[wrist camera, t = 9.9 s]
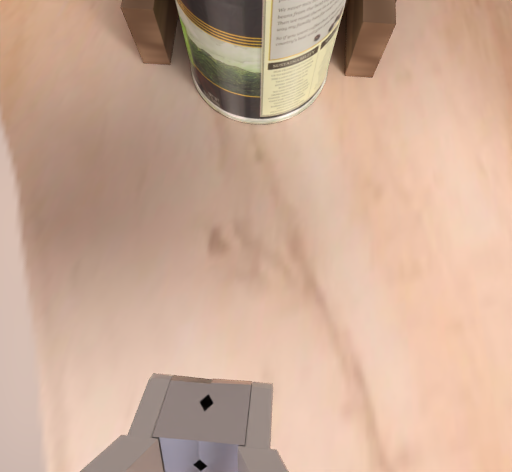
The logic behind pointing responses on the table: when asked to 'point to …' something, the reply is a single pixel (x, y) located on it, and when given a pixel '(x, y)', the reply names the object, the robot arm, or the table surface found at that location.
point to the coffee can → (260, 54)
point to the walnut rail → (357, 31)
